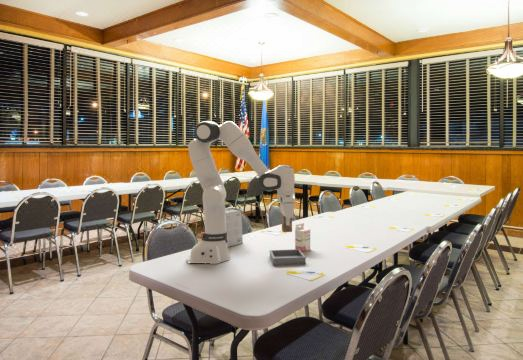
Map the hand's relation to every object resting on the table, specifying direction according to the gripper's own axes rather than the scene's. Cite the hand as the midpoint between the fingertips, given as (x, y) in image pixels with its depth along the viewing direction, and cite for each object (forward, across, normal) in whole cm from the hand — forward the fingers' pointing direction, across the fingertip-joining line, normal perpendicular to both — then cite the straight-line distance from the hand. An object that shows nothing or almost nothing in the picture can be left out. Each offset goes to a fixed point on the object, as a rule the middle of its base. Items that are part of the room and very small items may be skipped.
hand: (286, 224), depth 204 cm
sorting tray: (+19, 0, 0) cm, 19 cm away
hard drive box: (+19, -39, -29) cm, 52 cm away
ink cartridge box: (+19, -19, +12) cm, 29 cm away
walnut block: (+4, 0, 0) cm, 4 cm away
